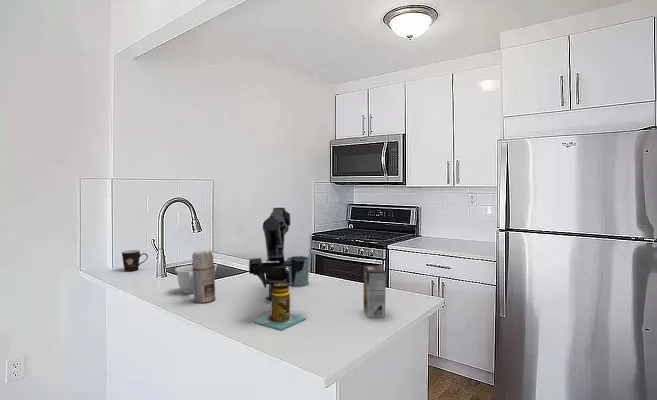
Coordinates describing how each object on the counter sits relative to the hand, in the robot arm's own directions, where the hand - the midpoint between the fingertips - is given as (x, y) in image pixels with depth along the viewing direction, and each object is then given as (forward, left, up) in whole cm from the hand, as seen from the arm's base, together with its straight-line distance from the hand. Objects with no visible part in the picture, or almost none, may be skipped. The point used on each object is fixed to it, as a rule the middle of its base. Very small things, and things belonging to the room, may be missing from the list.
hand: (279, 286), depth 132 cm
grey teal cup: (-25, +41, -12) cm, 49 cm away
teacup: (-54, +5, -12) cm, 55 cm away
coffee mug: (-113, +14, -12) cm, 114 cm away
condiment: (0, 0, -11) cm, 11 cm away
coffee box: (+22, +25, -12) cm, 36 cm away
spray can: (-40, +1, -12) cm, 42 cm away
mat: (0, 0, -12) cm, 12 cm away
